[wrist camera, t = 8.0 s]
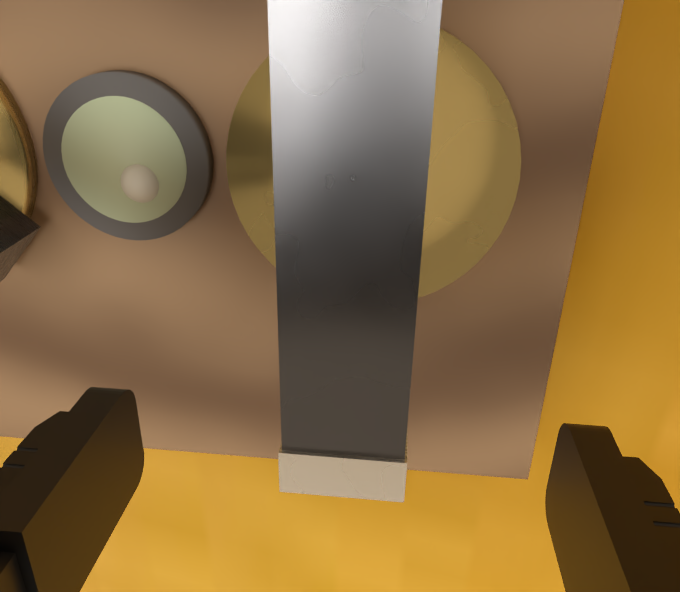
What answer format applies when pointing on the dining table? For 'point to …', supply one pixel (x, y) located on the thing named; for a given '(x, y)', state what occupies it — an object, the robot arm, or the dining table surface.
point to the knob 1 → (15, 182)
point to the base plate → (239, 250)
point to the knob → (364, 216)
